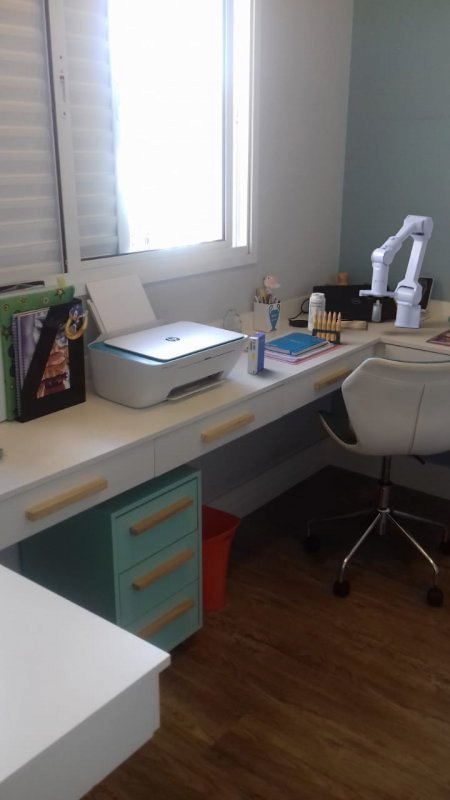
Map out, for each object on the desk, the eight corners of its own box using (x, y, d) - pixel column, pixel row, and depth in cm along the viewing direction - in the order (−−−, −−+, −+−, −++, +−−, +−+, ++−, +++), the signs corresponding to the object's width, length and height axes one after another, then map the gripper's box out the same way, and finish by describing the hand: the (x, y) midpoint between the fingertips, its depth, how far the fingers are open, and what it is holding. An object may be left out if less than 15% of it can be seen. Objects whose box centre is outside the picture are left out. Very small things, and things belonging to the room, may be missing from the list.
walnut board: (366, 323, 303) (366, 321, 303) (365, 330, 292) (366, 328, 292) (334, 321, 306) (335, 319, 305) (333, 328, 295) (333, 326, 294)
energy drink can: (325, 331, 289) (328, 293, 284) (319, 334, 285) (322, 296, 279) (311, 329, 292) (314, 291, 287) (305, 332, 287) (307, 294, 282)
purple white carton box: (256, 366, 243) (257, 331, 239) (263, 367, 242) (265, 332, 238) (246, 372, 236) (248, 336, 232) (254, 374, 235) (256, 338, 231)
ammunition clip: (311, 341, 274) (313, 310, 270) (311, 340, 276) (314, 309, 272) (339, 344, 271) (342, 313, 267) (340, 343, 273) (342, 312, 269)
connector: (380, 318, 289) (382, 299, 286) (380, 322, 283) (382, 302, 280) (372, 317, 289) (373, 298, 287) (371, 321, 284) (373, 302, 281)
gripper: (360, 281, 278) (357, 316, 283) (399, 283, 276) (395, 318, 281) (360, 277, 285) (358, 312, 290) (399, 280, 282) (395, 314, 287)
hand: (376, 315), depth 286 cm, fingers closed on connector, 3 cm apart
